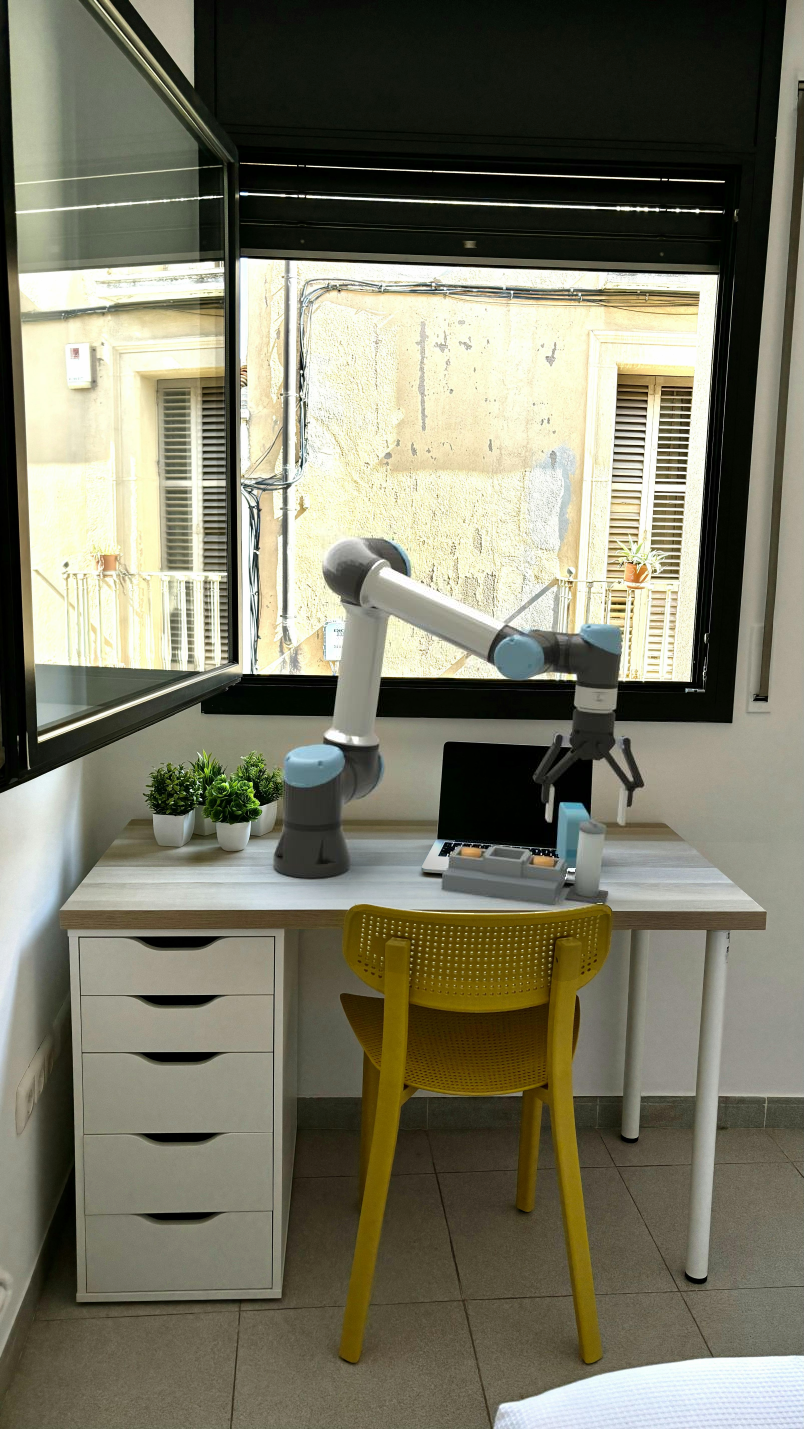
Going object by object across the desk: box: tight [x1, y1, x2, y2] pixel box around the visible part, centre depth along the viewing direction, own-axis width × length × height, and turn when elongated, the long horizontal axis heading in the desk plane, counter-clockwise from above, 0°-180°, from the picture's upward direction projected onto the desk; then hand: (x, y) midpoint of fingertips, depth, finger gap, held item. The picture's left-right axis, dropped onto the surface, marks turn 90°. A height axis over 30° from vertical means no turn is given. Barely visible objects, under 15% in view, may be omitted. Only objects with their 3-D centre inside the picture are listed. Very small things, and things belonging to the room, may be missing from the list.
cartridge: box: [573, 818, 607, 897], centre depth 182 cm, size 5×5×14 cm
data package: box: [556, 802, 591, 868], centre depth 200 cm, size 12×4×12 cm, turn 178°
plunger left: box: [461, 846, 481, 858], centre depth 189 cm, size 4×4×2 cm
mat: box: [564, 885, 609, 905], centre depth 182 cm, size 7×7×1 cm
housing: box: [441, 845, 568, 906], centre depth 187 cm, size 21×16×6 cm
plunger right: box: [533, 855, 554, 868], centre depth 185 cm, size 4×4×2 cm
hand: (584, 821), depth 183 cm, fingers open, 13 cm apart
